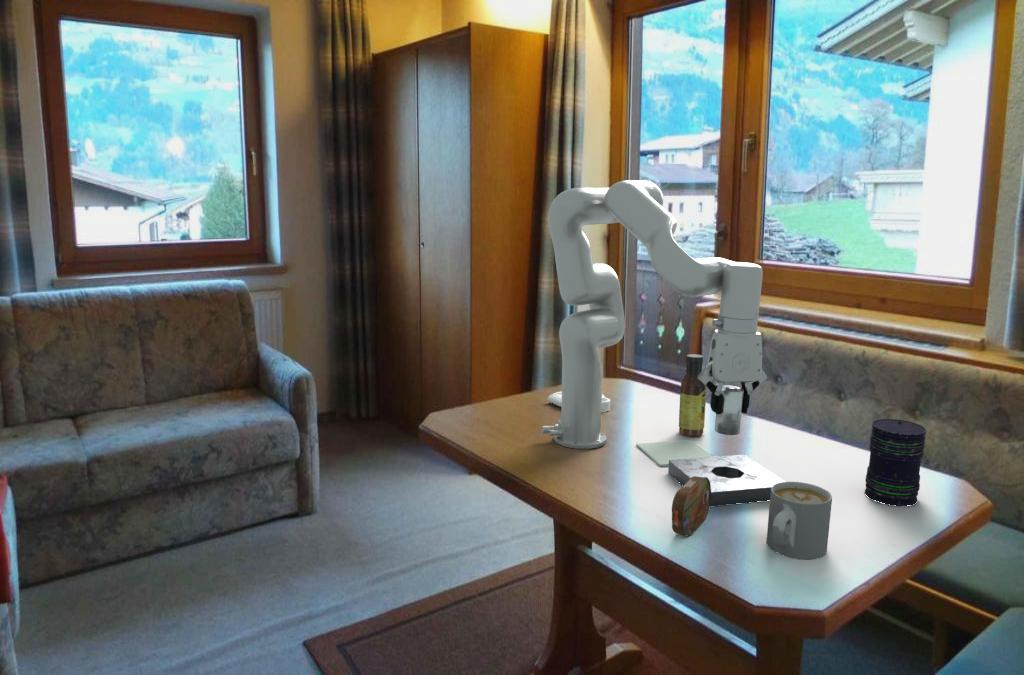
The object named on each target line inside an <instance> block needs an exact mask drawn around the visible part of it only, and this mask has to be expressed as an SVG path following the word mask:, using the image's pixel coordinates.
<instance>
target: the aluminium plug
mask: <svg viewBox="0 0 1024 675" xmlns="http://www.w3.org/2000/svg"><path fill="white" fill-rule="evenodd" d="M721 395H722V396H723V401H722V411H721V414H716V413H715V419H714V420H715V421H714V431H715V432H716V433H718V434H721V435H725V436H736V435H740V432H741V424H742V423H741V422H742V414H743V413H742V405H743V396H744V389H742V388H741V386H740V387H739V386H735V385H724V386H723V388H722V391H721Z"/></svg>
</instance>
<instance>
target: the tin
mask: <svg viewBox="0 0 1024 675" xmlns="http://www.w3.org/2000/svg"><path fill="white" fill-rule="evenodd" d="M710 502H711V485H710V481H709V479H708V478H707V477H697V476H693V477H691V478H690V479H689V480H688V481H687V482H686V483H685V484H684V485H683V486H682V485H681V486H680V488H679V489H678V490H677V491H676V493H675V495H674V497H673V499H672V505H671V529H672V531H673V532H674V533H675V534H677V535H682V536H686V537H691V536H693V535H694V533H695V532H696V531H697V530H698V529H699V527H700V526H701V525H702V524H703V523H704V522H705V520H706V519H707V517H708V514H709V512H710V508H711V507H710Z"/></svg>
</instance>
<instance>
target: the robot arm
mask: <svg viewBox="0 0 1024 675" xmlns="http://www.w3.org/2000/svg"><path fill="white" fill-rule="evenodd" d="M663 206H664V196H663V192H662V190H661V188H659V186H658V185H657V184H655V183H654V182H652V181H650V180H641V179H640V180H638V179H637V180H634V179H632V180H631V179H630V180H629V179H627V180H620V181H618V182H616V183H613V184H612V185H610V187H587V186H586V187H582V186H581V187H573V188H569V189H566V190H563V191H562V192H560V193H559V194H557V196H555V198H554V199H553V200H552V202H551V203H550V206H549V209H548V213H547V214H548V215H547V223H548V224H547V225H548V231H549V234H550V238H551V240H552V241H551V242H552V245H553V246H552V247H553V252H554V258H555V259H554V260H555V265H556V266H555V268H556V274H557V283H558V289H559V294H560V296H561V299H562V301H563V302H564V303H565V304H567V305H569V306H572V307H573V306H586V305H589V309H586V310H585V309H584V310H581V311H580V310H579V311H576V312H573V313H571V314H569V315H567V316H566V317H565V318H564V319H563V320H562V322H561V324H560V327H559V332H558V333H559V334H558V336H559V343H560V348H561V358H562V359H561V360H562V362H561V363H562V365H561V366H562V368H561V370H562V372H561V380H562V381H561V382H562V383H561V391H562V407H561V408H560V409H561V410H560V412H561V413H560V414H561V418H560V419H558V420H557V423H554V424H553V425H541V427H540V429H541V430H540V431H541V432H540V433H541V434H542V435H546V434H549V436H550V437H551V436H552V437H553V440H554V441H555V443H556V444H558V445H560V446H563V447H566V448H571V449H579V450H580V449H581V450H587V449H595V448H600V447H602V446H604V445H606V443H607V440H608V439H607V438H608V437H607V435H606V434H604V432H601V427H602V426H601V424H602V423H601V420H602V413H601V402H602V394H603V374H604V373H603V372H604V371H603V364H602V362H601V361H602V360H601V358H600V355H599V352H598V350H600V349H604V348H609V347H612V346H615V345H616V344H618V343H619V342H620V341H621V340H622V339H623V337H624V335H625V330H626V320H625V313H624V312H625V311H624V304H623V298H622V290H621V289H622V288H621V284H620V280H619V277H618V275H617V273H616V271H615V270H614V268H612V267H611V266H610V265H608V264H607V263H603V262H593V257H592V249H591V243H590V241H589V239H588V237H587V235H586V233H585V232H584V230H583V229H582V227H583V226H588V225H589V226H591V225H592V226H593V225H607V224H617V223H620V224H621V225H622V226H623V227H624V228H625V229H626V230H627V231H628V232H629V233H630V234H631V235H632V236H633V237H635V238H636V240H638V241H639V242H640V243H641V244H642V245H643V246H644V247H645V249H646V251H647V256H648V258H649V261H650V264H651V266H652V268H653V269H654V270H655V272H656V273H657V274H658V276H660V278H662V279H663V280H664V281H665V282H666V283H667V284H668V286H670V287H671V288H672V289H673V290H674V291H676V292H677V293H679V294H681V295H682V296H685V297H688V298H698V297H703V296H711V295H718V294H720V301H719V302H720V303H719V312H718V313H719V314H718V316H717V318H714V319H712V326H713V327H717V329H715V330H714V332H713V335H712V338H711V341H710V345H709V346H710V347H709V351H708V356H707V364H706V366H705V367H704V368H702V372H701V373H700V374H699V375H698V379H699V380H700V381H701V382H702V383H704V384H705V385H706V389H708V390H709V391H710V392H711V394H710V396H711V397H710V403H709V405H710V409H711V411H712V412H713V413H715V415H716V414H721V411H722V401H723V396H722V395H721V391H722V388H723V386H725V384H726V383H727V384H728V383H729V384H732V383H740V388H742V389H744V396H743V405H742V414H743V415H744V414H747V413H748V409H749V406H750V400H751V398H750V397H751V395H752V394H754V391H755V390H756V389H757V388H758V387H759V385H760V384H762V383H763V382H765V381H766V380H767V379H768V375H767V374H766V373H765V371H764V370H763V368H762V367H763V343H762V342H763V341H762V333H761V332H759V331H758V322H759V312H760V304H761V296H762V295H761V294H762V286H763V275H764V273H763V272H764V271H763V268H762V266H761V265H759V264H757V263H752V262H743V261H742V262H741V261H733V260H729V259H726V258H723V257H718V256H717V257H715V256H712V257H711V256H710V257H699V258H693V257H692V256H691V255H690V254H688V253H687V252H686V251H685V250H684V249H683V248H682V247H680V245H679V244H678V243H677V242H676V241H675V239H674V237H673V236H674V234H675V232H676V229H677V225H678V223H677V219H676V218H675V217H674V216H673V215H672V214H671V213H670V212H669V211H668V210H666V209H665V208H664V207H663ZM709 377H710V378H712V379H711V380H712V381H711V380H710V379H709Z"/></svg>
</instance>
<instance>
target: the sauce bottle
mask: <svg viewBox="0 0 1024 675" xmlns="http://www.w3.org/2000/svg"><path fill="white" fill-rule="evenodd" d="M685 359H686V360H685V362H686V370H685V372H686V373H685V375H684V376H683V378H682V379H681V382H680V392H679V412H678V427H679V428H678V431H679V434H681V435H683V436H686V437H699V436H702V435H703V433H704V428H705V420H706V404H707V403H706V402H707V401H706V400H707V399H706V398H707V387H706V385H705V384H704V383H702V382H701V381H700V380H699V379H698V375H699V374H700V373H701V372H702V370H703V362H704V356H703V355H701V354H698V353H695V354H693V353H692V354H687V355H686V358H685Z"/></svg>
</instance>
